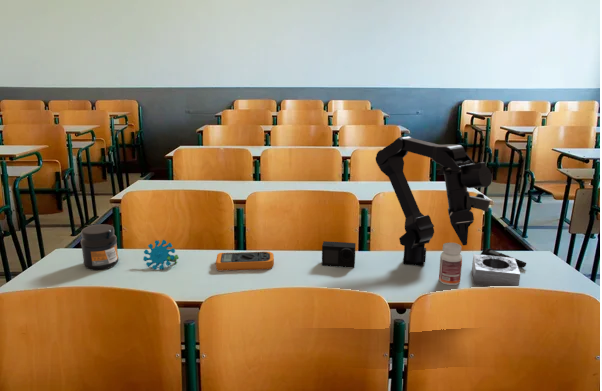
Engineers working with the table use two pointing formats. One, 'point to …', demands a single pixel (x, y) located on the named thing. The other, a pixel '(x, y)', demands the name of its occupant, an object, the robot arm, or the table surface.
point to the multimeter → (244, 261)
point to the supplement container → (99, 247)
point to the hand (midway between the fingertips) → (463, 242)
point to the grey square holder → (495, 271)
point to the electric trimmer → (494, 253)
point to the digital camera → (338, 254)
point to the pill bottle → (450, 264)
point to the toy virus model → (160, 255)
